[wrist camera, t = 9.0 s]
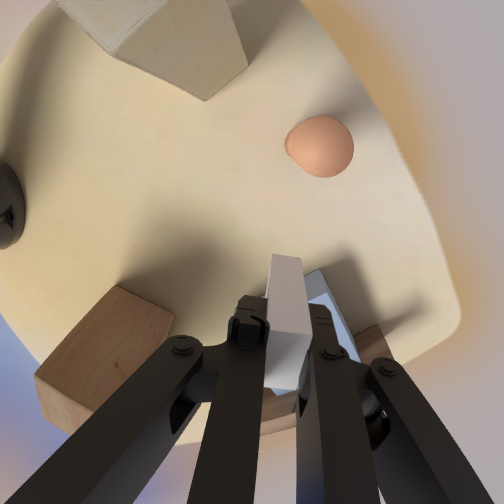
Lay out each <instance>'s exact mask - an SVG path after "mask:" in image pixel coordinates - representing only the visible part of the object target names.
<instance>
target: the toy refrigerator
mask: <svg viewBox="0 0 504 504" xmlns="http://www.w3.org/2000/svg"><path fill="white" fill-rule="evenodd" d="M53 1H54V2H55V3H56V4H57V5H58V6H59V7H60V8H61V9H62V10H63V11H64V12H65V13H67V14H68V15H69V16H70V17H71V18H72V19H73V20H74V21H75V22H76V23H77V24H78V25H79V26H80V27H81V28H82V29H83V30H84V31H85V32H86V33H87V34H88V35H89V36H90V37H91V38H92V39H93V40H94V41H95V42H96V43H97V44H98V45H99V46H100V47H101V48H102V49H103V50H104V51H105V52H106V53H107V54H109V55H110V56H112V57H113V58H115V59H117V60H120V61H122V62H124V63H127V64H129V65H131V66H133V67H136V68H138V69H140V70H143V71H145V72H147V73H149V74H151V75H153V76H155V77H157V78H159V79H161V80H164V81H166V82H168V83H170V84H172V85H174V86H175V87H177V88H179V89H181V90H183V91H185V92H187V93H189V94H191V95H193V96H194V97H196V98H198V99H200V100H202V101H206V100H208V99H209V98H210V97H211V96H212V95H214V94H215V93H216V92H217V91H218V90H220V89H221V88H222V87H223V86H224V85H226V84H227V83H228V82H229V81H230V80H232V79H233V78H234V77H235V76H237V75H238V74H239V73H240V72H242V71H243V70H244V69H245V68H247V67H248V61H247V58H246V55H245V52H244V49H243V46H242V43H241V40H240V37H239V34H238V31H237V28H236V25H235V22H234V19H233V16H232V13H231V10H230V7H229V4H228V1H227V0H53Z"/></svg>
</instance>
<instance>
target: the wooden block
mask: <svg viewBox="0 0 504 504" xmlns="http://www.w3.org/2000/svg"><path fill="white" fill-rule="evenodd" d="M173 320H174V314H173V313H172V312H170V311H168V310H166V309H163V308H161V307H159V306H157V305H155V304H153V303H151V302H149V301H146V300H144V299H142V298H140V297H138V296H136V295H134V294H132V293H130V292H128V291H126V290H124V289H122V288H120V287H118V286H113V287H112V288H111V289H110V290H109V291H108V292H107V293H106V294H105V295H104V296H103V297H102V298H101V299H100V300H99V301H98V302H97V303H96V305H95V306H94V307H93V308H92V309H91V310H90V311H89V312H88V313H87V314H86V315H85V316H84V317H83V318H82V320H81V321H80V322H79V323H78V324H77V325H76V326H75V327H74V328H73V329H72V330H71V332H70V333H69V334H68V335H67V336H66V337H65V338H64V339H63V341H62V342H61V343H60V344H59V345H58V346H57V347H56V349H55V350H54V351H53V352H52V353H51V354H50V355H49V357H48V358H47V359H46V360H45V361H44V363H43V364H42V365H41V366H40V367H39V369H38V370H37V371H36V372H35V374H34V379H35V384H36V388H37V393H38V397H39V401H40V405H41V409H42V413H43V417H44V418H45V419H46V420H47V421H48V422H50V423H52V424H53V425H55V426H56V427H58V428H60V429H61V430H63V431H64V432H66V433H67V434H69V435H72V434H73V433H74V432H75V431H76V430H77V429H78V428H79V427H80V426H81V425H82V424H83V423H84V422H85V421H86V420H87V419H88V418H89V417H90V416H91V415H92V414H93V413H94V412H95V411H96V410H97V409H98V408H99V407H100V406H101V405H102V404H103V403H104V402H105V401H106V400H107V399H108V398H109V397H110V396H111V395H112V394H113V393H114V392H115V391H116V390H117V389H118V388H119V387H120V386H121V385H122V384H123V383H124V382H125V381H126V380H127V379H128V378H129V377H130V376H131V375H132V374H133V373H134V372H135V371H136V370H137V369H138V368H139V367H140V366H141V365H142V364H143V363H144V362H145V361H146V360H147V359H148V358H149V357H150V356H151V355H152V354H153V352H154V351H155V350H156V349H157V348H158V347H159V346H160V345H161V344H162V343H163V342H164V341H165V340H167V337H168V334H169V331H170V328H171V325H172V323H173Z"/></svg>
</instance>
